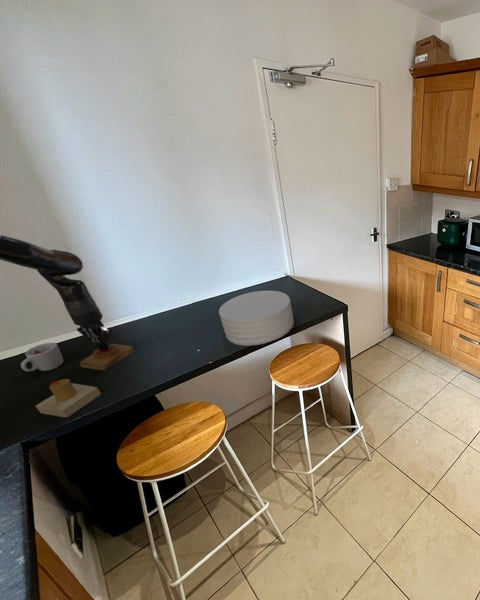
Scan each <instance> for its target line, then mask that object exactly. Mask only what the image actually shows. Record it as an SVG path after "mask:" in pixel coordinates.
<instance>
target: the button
mask: <svg viewBox="0 0 480 600" xmlns="http://www.w3.org/2000/svg"><path fill="white" fill-rule="evenodd" d="M111 350H112V348H111V347H109V348H108V349H107V350H105V351H100V350H98V354H103V353H106V352H109V351H111Z"/></svg>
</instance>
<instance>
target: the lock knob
mask: <svg viewBox="0 0 480 600" xmlns="http://www.w3.org/2000/svg"><path fill="white" fill-rule="evenodd" d="M49 390H50V391H51V393H52V395H54V396H55V397H56V399H57V400H58V401H65V400H68V399H70V398H72V397H74V396H75V395H76V394H77V392H76V390H75V388H74V387H73V385H72V382H71V380H70V379H69V378H63V379H62V378H61V379H59V380H57V381H52V383H51V384H50V385H49Z"/></svg>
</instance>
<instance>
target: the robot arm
mask: <svg viewBox="0 0 480 600" xmlns="http://www.w3.org/2000/svg"><path fill="white" fill-rule="evenodd" d="M0 261H4V262H7V263H9V264H13V265H16V266H21V267H25V268H27V269H31V270H36V271H37V272H38V274H39V275H40V276H41V277H42V278H43V279H44V280H46V282H48V283H49V285H50V286H52V287H53V289H55V290H56V291H57V293H58V295H59V297H60V299H61V300H62V302H63V304H64V307H65V310H66V311H67V313H68V315H69V317H70V318H71V320H72V322H73V324H74V325H76V326H79V327H77V328H76V331H77V332H78V333H79V334H81V336H83V337H84V338H85V339H86V340H88V341H89V342H91V341H92V342H93V343H94V344H95V345H96V346H97V349H99V350H100V351H105V350H107V349H108V348H109V347H108V345H109V344H108V343H107V340H110V338H111V335H112V332H113V329H112V328H110V327H109V328H107V327H105V325H104V323H103V322H102V319H103V314H102V312H101V310H100V308H99V306H98V304H97V302H96V300H95V299H94V297H93V295H92V294H91V292H90V290H89V288H88V286H87V285H86V282H85V281H84V280H82V279H78V278H77V279H76V278H69V277H67V276H73V275H78V274H79V273H80V272H82V270H83V268H84V262H83V260H82V259H81V257H79V255H76V254H75V253H73V252H70V251H66V250H60V249H54V248H53V249H52V248H47V247H44V246H42V245H39V244H36V243H33V242H30V241H26V240H23V239H19V238H15V237H12V236H7V235H3V234H2V231H1V229H0Z"/></svg>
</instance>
